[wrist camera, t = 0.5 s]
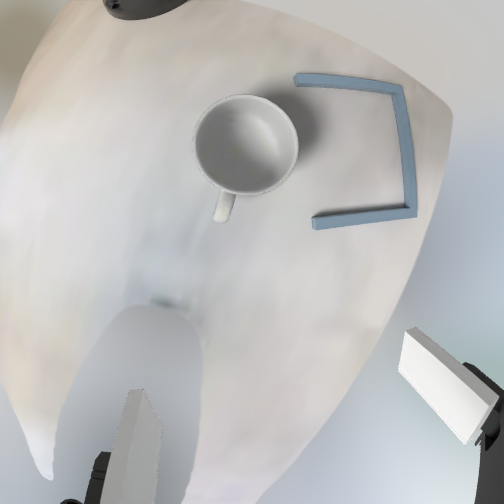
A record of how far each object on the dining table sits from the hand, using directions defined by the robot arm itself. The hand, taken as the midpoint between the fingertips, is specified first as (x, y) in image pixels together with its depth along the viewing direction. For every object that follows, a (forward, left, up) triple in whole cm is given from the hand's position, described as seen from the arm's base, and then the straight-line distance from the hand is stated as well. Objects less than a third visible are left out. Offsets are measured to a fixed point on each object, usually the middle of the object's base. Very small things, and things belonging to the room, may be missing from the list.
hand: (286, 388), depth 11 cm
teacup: (-12, +1, -26) cm, 28 cm away
